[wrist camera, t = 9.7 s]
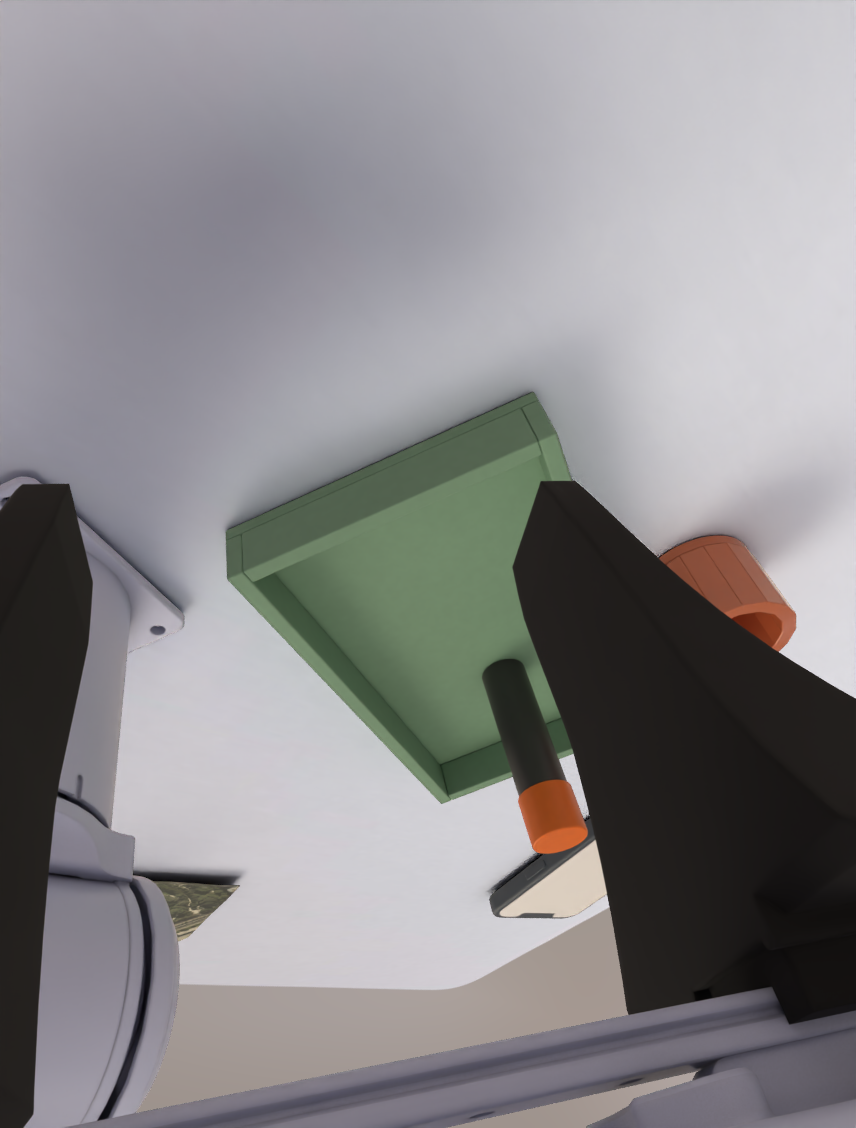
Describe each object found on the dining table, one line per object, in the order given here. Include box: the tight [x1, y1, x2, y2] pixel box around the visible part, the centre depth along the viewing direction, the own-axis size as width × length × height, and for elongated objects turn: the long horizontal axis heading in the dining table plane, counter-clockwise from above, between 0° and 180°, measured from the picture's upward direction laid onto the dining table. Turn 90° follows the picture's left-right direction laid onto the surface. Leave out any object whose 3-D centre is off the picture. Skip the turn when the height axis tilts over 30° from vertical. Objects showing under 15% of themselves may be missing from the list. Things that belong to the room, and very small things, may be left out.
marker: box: [482, 659, 588, 854], centre depth 31 cm, size 2×2×8 cm
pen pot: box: [659, 535, 796, 652], centre depth 31 cm, size 5×5×4 cm
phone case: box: [489, 819, 607, 918], centre depth 52 cm, size 9×2×16 cm
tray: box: [226, 392, 574, 804], centre depth 31 cm, size 11×20×2 cm, turn 22°
